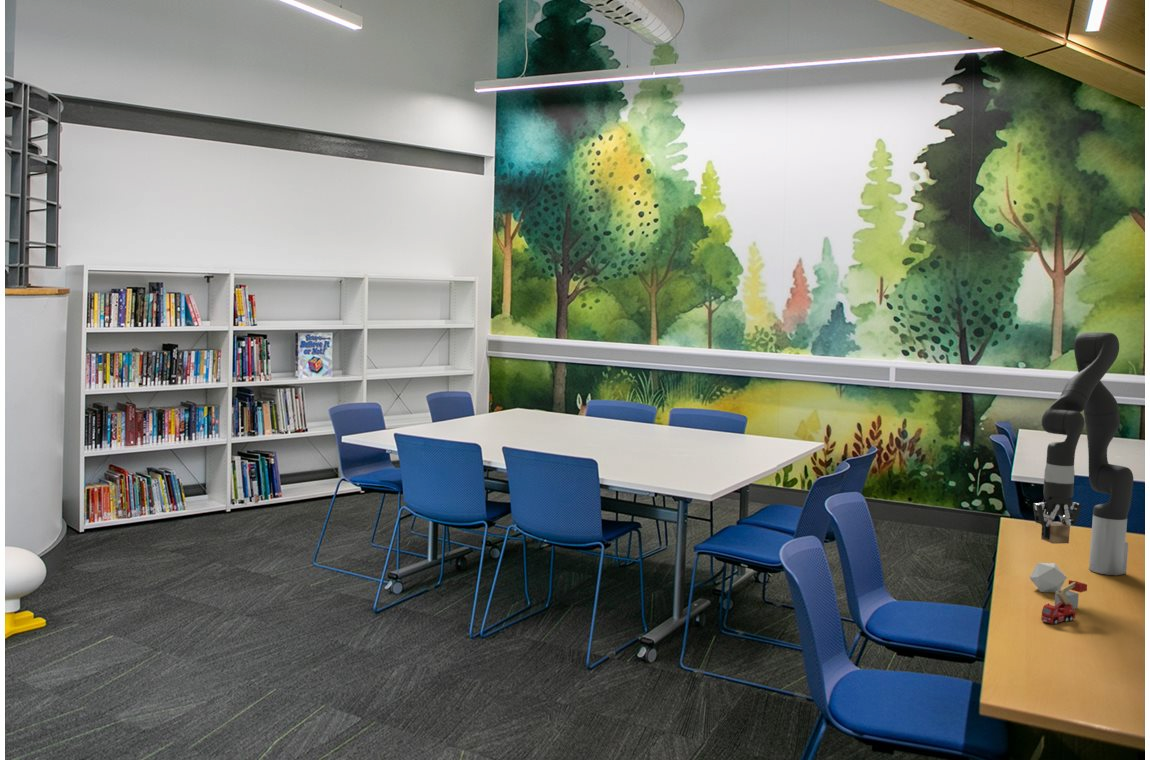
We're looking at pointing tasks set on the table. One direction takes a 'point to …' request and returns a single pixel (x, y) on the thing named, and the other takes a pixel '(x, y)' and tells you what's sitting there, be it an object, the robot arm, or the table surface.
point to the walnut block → (1058, 533)
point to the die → (1047, 577)
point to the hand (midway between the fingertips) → (1054, 538)
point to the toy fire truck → (1062, 605)
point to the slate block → (1072, 599)
